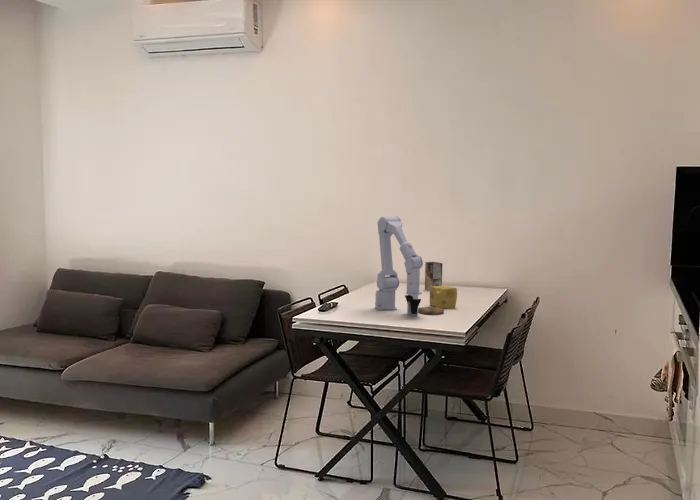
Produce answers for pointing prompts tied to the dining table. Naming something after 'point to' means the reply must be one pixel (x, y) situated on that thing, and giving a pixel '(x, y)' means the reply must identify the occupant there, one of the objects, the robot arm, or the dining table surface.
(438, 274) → the coffee box
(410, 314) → the block
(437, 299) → the cheese
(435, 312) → the disc
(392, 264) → the robot arm
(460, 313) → the dining table surface
